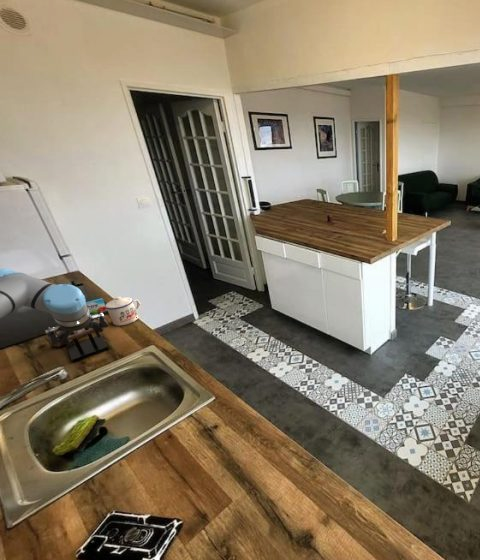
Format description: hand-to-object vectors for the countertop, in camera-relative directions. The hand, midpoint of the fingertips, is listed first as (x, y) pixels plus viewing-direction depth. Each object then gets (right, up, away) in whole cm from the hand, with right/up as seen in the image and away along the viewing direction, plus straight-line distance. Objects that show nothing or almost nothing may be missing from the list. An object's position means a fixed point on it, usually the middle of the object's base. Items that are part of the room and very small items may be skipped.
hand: (83, 338), depth 109 cm
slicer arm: (-1, +3, 0) cm, 3 cm away
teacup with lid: (-6, +4, +27) cm, 28 cm away
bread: (-16, -2, +16) cm, 23 cm away
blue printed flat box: (-26, +5, +29) cm, 39 cm away
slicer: (-6, -5, +8) cm, 11 cm away
